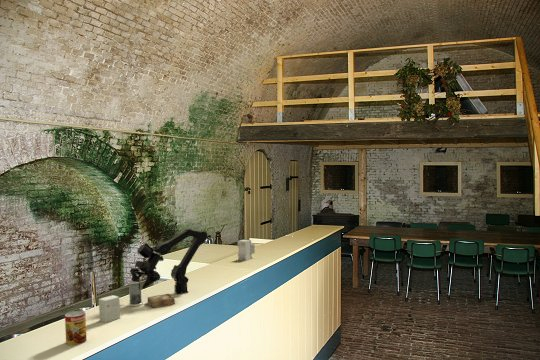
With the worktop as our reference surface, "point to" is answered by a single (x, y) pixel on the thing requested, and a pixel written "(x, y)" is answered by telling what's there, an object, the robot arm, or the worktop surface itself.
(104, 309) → the small box
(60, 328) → the worktop surface
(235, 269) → the worktop surface
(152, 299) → the stand
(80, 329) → the canned food
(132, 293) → the cylinder
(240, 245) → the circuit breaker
